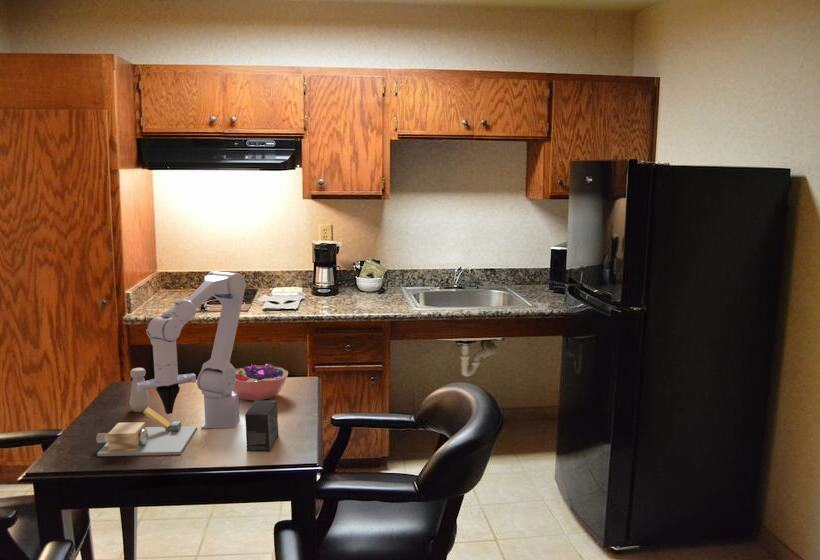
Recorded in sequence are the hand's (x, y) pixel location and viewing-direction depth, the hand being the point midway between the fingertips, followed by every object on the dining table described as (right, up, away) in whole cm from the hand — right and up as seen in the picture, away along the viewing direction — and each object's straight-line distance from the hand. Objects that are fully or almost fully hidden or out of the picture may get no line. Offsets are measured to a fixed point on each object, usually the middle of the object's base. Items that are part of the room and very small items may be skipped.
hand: (168, 412), depth 176 cm
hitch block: (-11, -9, +1) cm, 15 cm away
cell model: (+15, -3, +39) cm, 42 cm away
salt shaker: (-19, -5, +28) cm, 34 cm away
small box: (+24, -9, +4) cm, 26 cm away
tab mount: (-2, -8, +11) cm, 13 cm away
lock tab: (-7, -4, +10) cm, 13 cm away
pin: (-12, -9, +1) cm, 15 cm away
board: (-7, -9, +5) cm, 12 cm away
